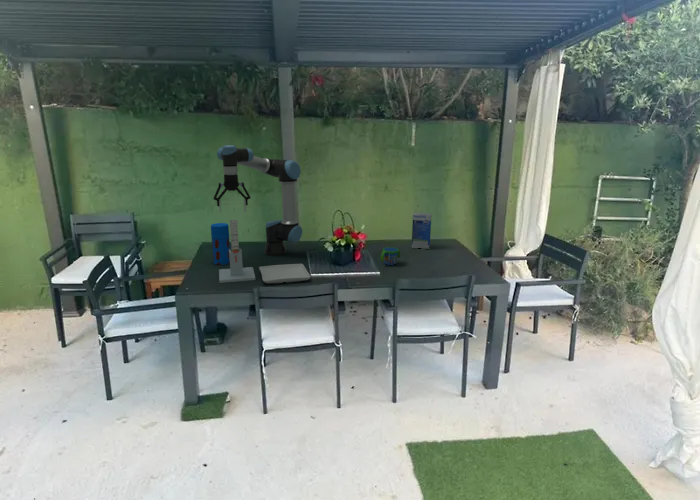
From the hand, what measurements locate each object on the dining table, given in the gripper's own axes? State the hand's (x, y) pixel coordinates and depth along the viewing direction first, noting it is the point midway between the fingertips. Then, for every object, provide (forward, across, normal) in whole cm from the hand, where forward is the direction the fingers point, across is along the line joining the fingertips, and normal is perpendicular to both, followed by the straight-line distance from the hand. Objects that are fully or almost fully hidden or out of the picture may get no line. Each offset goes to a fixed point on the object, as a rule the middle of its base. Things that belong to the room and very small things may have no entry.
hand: (233, 211), depth 251 cm
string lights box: (+39, -133, -30) cm, 142 cm away
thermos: (+39, +8, -29) cm, 49 cm away
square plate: (+39, -27, +8) cm, 48 cm away
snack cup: (+39, -97, +1) cm, 104 cm away
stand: (+39, 0, 0) cm, 39 cm away
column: (+31, 0, 0) cm, 31 cm away
